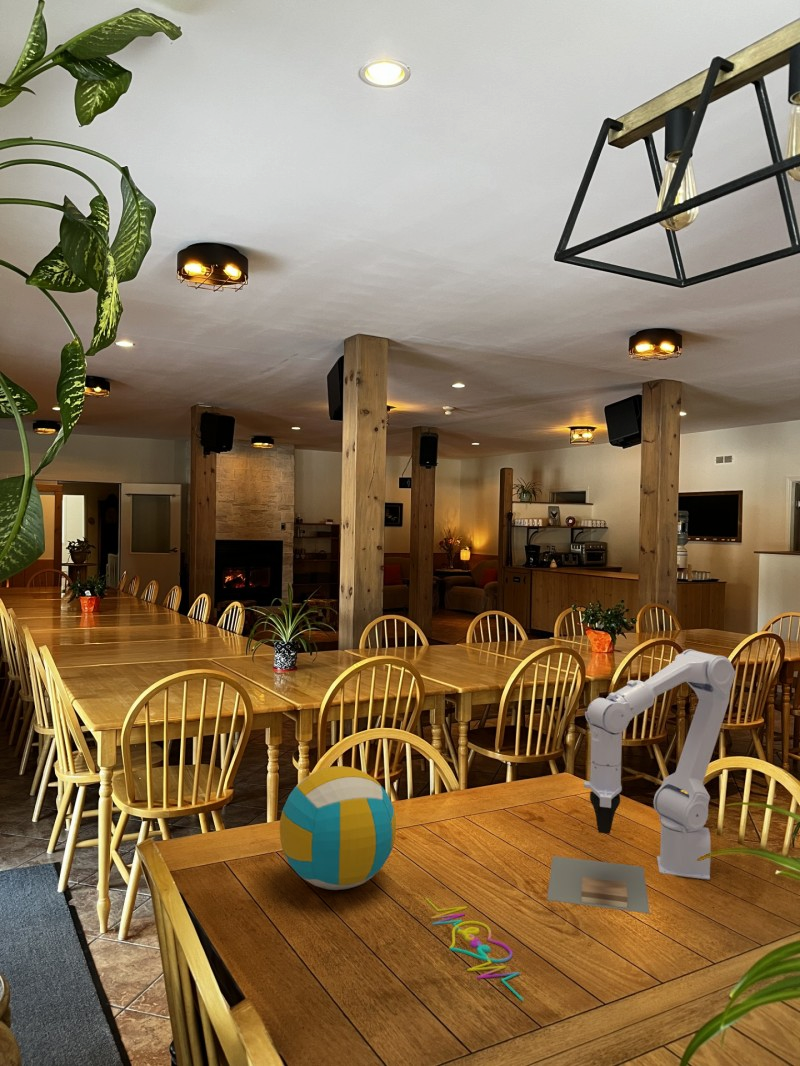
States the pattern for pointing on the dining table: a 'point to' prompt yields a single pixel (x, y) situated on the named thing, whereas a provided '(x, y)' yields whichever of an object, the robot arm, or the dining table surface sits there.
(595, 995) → the dining table surface
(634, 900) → the mat
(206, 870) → the dining table surface
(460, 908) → the decorative art
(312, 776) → the volleyball
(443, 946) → the dining table surface
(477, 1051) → the dining table surface
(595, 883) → the tile
